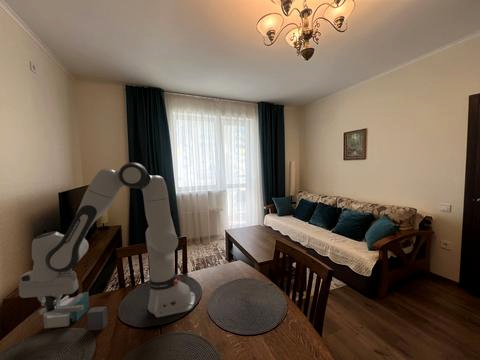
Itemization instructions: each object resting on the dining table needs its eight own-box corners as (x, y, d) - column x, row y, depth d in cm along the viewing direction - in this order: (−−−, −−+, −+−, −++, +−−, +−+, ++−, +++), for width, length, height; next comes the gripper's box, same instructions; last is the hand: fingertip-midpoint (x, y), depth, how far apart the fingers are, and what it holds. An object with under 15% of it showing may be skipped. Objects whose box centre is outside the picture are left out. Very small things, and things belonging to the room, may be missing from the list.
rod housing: (107, 323, 91) (106, 306, 91) (103, 329, 88) (102, 311, 87) (92, 325, 90) (91, 307, 90) (88, 330, 87) (87, 312, 87)
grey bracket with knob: (101, 306, 102) (99, 277, 101) (81, 330, 87) (79, 296, 86) (65, 309, 100) (64, 280, 99) (39, 334, 85) (36, 299, 84)
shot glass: (71, 320, 92) (68, 305, 92) (57, 322, 93) (53, 307, 92) (83, 309, 99) (80, 295, 99) (70, 311, 100) (67, 297, 99)
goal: (87, 306, 103) (86, 294, 103) (67, 326, 90) (66, 312, 90) (66, 307, 102) (66, 295, 102) (44, 328, 89) (43, 314, 89)
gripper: (80, 266, 90) (82, 297, 91) (28, 270, 88) (31, 302, 89) (70, 273, 84) (73, 307, 85) (13, 278, 82) (17, 312, 82)
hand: (51, 304), depth 87 cm, fingers closed on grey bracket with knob, 3 cm apart
